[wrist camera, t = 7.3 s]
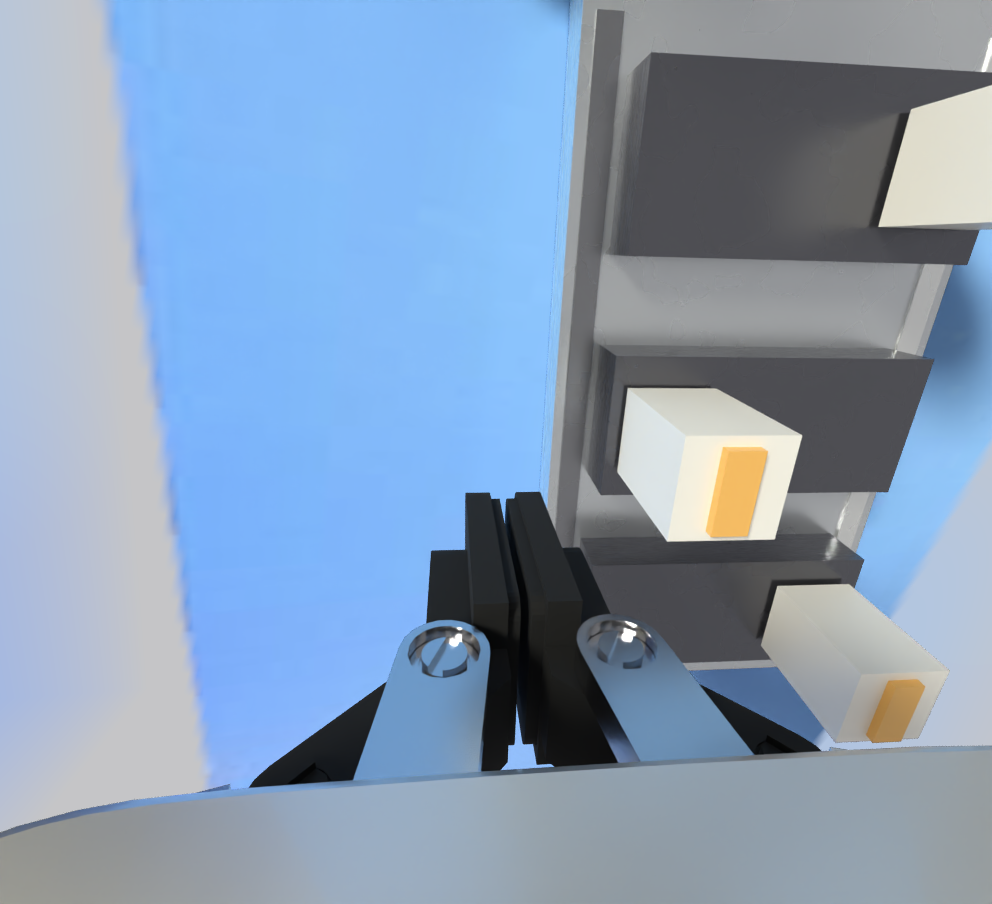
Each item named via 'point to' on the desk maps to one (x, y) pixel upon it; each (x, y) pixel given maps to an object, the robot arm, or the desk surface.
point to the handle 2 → (944, 166)
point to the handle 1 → (851, 663)
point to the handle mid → (705, 464)
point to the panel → (743, 277)
